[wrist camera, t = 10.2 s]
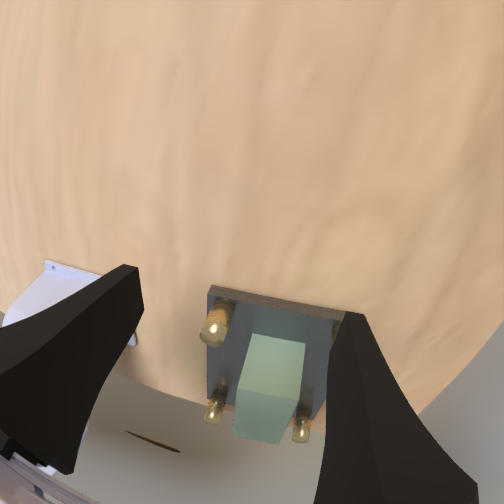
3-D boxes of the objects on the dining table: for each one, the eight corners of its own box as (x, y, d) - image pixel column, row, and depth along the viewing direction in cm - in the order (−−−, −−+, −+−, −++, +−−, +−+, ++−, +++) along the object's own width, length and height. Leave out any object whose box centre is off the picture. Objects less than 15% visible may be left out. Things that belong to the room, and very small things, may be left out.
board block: (244, 389, 28) (231, 435, 23) (252, 333, 23) (237, 387, 19) (286, 397, 27) (278, 444, 23) (305, 343, 23) (298, 399, 19)
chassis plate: (210, 391, 31) (199, 422, 27) (211, 284, 23) (193, 323, 19) (313, 412, 30) (310, 445, 26) (362, 314, 22) (365, 357, 18)
